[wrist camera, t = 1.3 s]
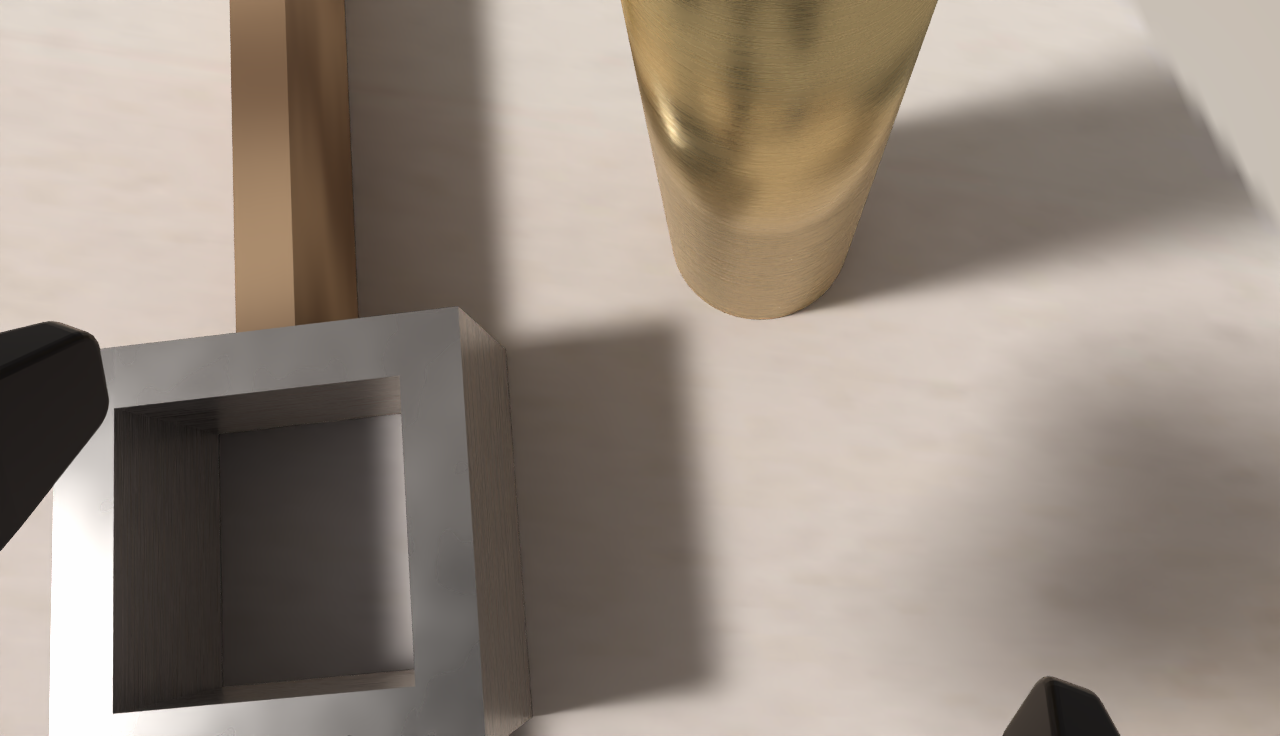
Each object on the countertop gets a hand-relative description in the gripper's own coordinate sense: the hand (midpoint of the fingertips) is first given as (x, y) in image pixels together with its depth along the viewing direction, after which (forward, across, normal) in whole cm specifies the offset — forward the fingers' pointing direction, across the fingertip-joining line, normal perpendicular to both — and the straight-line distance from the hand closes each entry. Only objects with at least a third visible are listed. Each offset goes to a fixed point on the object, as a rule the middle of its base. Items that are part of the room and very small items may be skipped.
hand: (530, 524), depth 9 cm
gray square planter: (+8, +6, +11) cm, 15 cm away
